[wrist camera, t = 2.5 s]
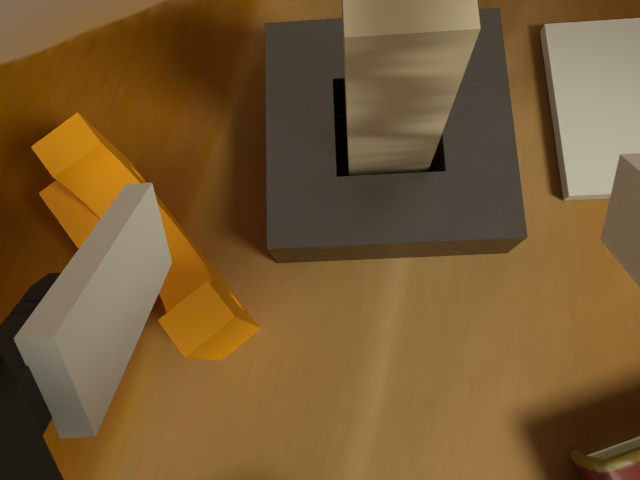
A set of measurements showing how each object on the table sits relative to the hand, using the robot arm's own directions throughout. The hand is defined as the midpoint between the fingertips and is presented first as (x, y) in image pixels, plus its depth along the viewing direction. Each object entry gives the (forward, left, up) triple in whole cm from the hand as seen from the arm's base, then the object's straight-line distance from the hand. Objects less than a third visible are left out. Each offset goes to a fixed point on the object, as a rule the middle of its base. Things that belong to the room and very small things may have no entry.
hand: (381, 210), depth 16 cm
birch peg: (+1, -7, -13) cm, 15 cm away
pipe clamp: (+11, +2, -14) cm, 18 cm away
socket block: (+1, -7, -13) cm, 15 cm away
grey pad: (-12, -13, -13) cm, 22 cm away
